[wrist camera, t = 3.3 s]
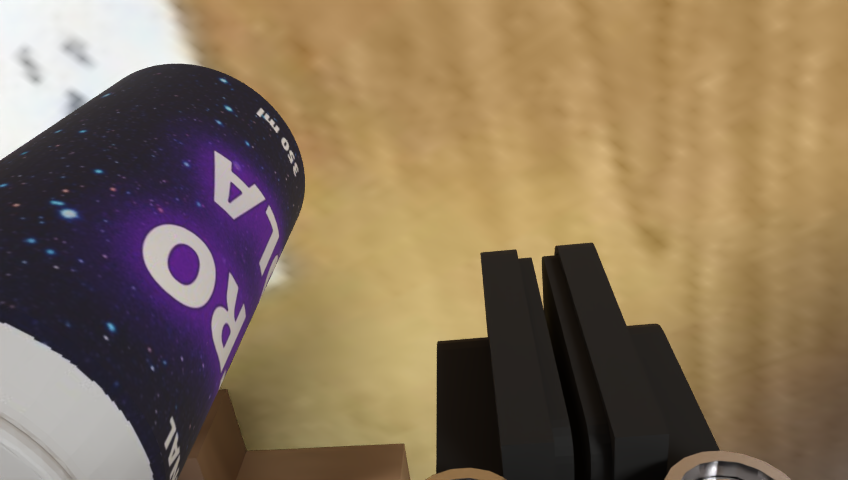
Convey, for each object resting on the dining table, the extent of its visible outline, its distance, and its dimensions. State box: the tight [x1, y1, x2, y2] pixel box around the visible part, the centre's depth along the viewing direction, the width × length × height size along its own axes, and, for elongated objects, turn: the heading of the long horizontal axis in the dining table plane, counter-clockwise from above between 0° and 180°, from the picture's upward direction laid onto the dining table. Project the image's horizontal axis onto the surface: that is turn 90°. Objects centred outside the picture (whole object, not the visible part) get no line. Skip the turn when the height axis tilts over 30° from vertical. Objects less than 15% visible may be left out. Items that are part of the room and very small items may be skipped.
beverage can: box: [0, 64, 305, 480], centre depth 14 cm, size 6×6×12 cm
